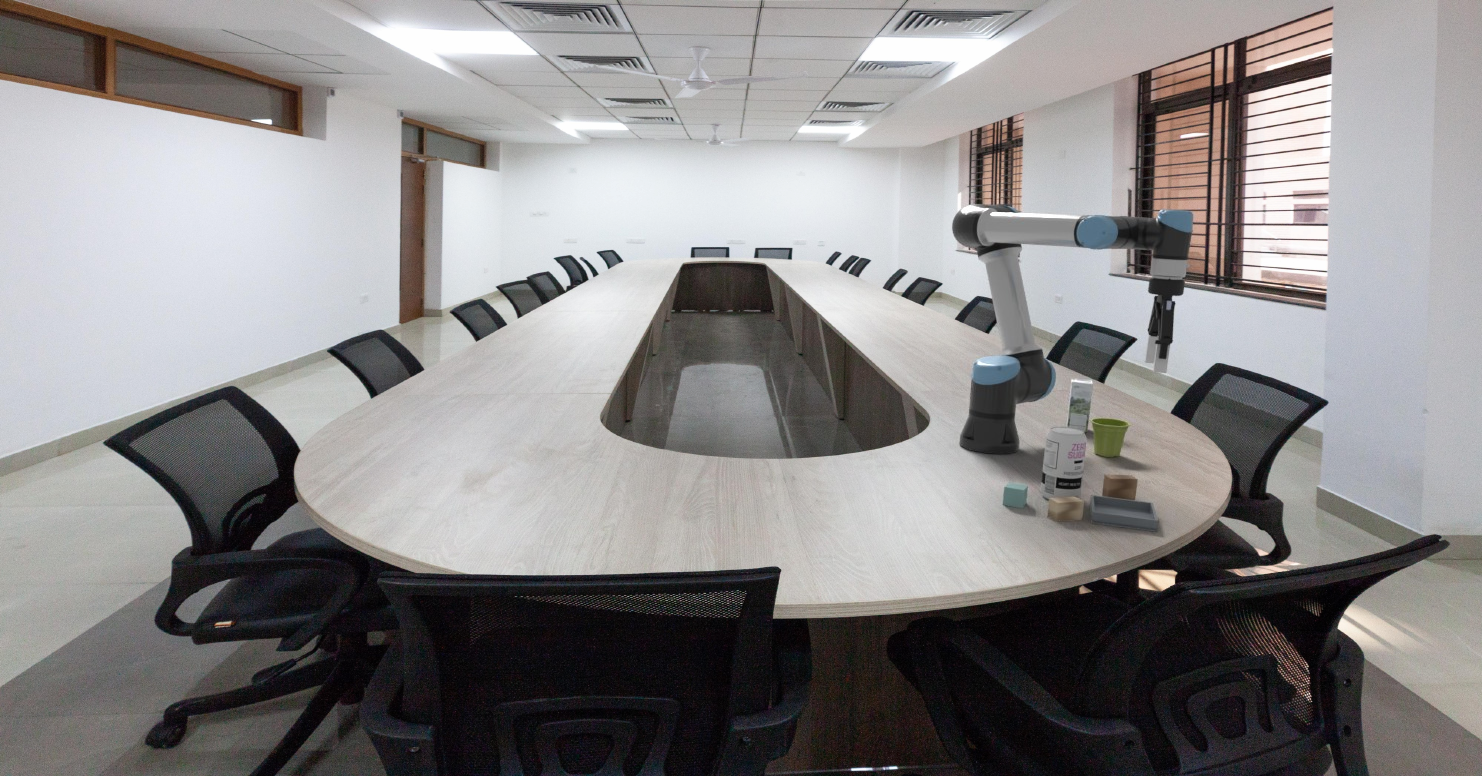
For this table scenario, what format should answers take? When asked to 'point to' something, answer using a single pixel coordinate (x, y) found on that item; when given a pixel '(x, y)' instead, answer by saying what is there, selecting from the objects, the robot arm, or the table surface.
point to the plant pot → (1108, 436)
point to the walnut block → (1120, 486)
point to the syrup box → (1079, 404)
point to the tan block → (1065, 508)
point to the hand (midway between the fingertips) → (1155, 367)
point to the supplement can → (1063, 462)
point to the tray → (1123, 513)
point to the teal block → (1015, 495)
